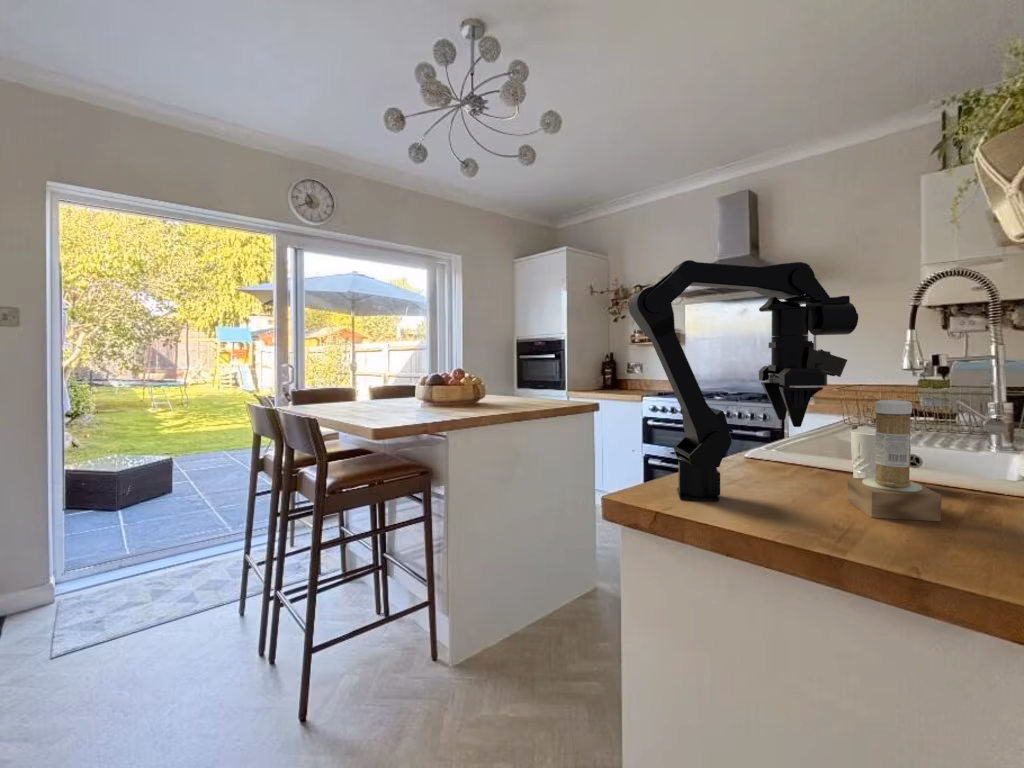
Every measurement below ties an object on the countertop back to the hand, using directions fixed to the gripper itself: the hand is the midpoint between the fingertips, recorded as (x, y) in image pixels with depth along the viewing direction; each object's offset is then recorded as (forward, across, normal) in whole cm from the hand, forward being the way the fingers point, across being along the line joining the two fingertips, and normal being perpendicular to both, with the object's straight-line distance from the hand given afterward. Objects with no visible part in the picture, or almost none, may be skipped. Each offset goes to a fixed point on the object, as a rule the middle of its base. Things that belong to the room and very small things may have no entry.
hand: (789, 423), depth 88 cm
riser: (+13, -7, -13) cm, 20 cm away
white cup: (+13, +11, -18) cm, 25 cm away
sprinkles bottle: (+9, -8, -13) cm, 17 cm away
